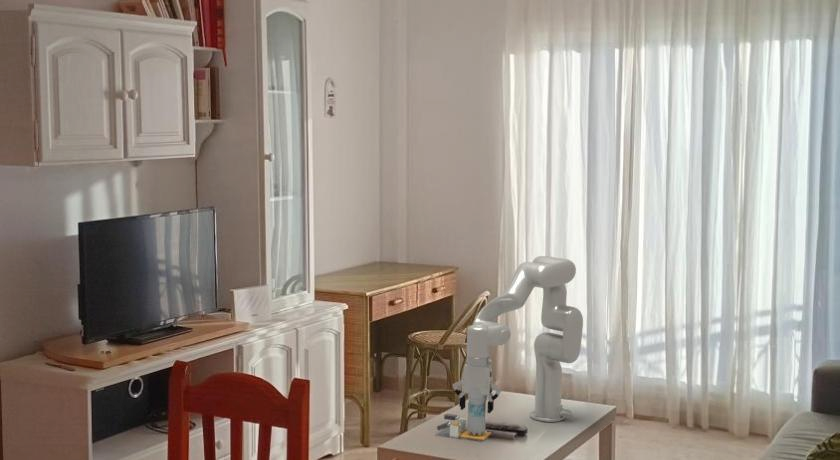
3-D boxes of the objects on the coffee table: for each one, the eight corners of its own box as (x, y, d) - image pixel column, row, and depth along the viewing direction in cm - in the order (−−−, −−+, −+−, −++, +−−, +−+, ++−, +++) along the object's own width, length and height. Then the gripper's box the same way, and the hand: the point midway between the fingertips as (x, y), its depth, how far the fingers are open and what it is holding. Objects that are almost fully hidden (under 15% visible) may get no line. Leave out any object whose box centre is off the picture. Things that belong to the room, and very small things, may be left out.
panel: (493, 434, 357) (494, 419, 357) (482, 444, 345) (482, 428, 344) (447, 428, 363) (447, 413, 363) (434, 438, 351) (435, 422, 351)
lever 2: (459, 419, 360) (459, 415, 360) (457, 420, 357) (457, 417, 357) (446, 417, 362) (446, 413, 362) (443, 419, 359) (444, 415, 359)
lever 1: (452, 424, 352) (451, 420, 352) (450, 426, 350) (448, 422, 350) (440, 428, 354) (439, 425, 354) (437, 430, 352) (436, 427, 352)
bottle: (488, 432, 355) (490, 375, 353) (482, 437, 348) (484, 380, 346) (469, 430, 357) (471, 373, 355) (463, 435, 351) (465, 378, 349)
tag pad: (491, 433, 355) (491, 432, 355) (483, 440, 347) (483, 439, 347) (467, 430, 358) (467, 429, 358) (459, 436, 350) (459, 436, 350)
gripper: (505, 361, 350) (503, 410, 352) (457, 356, 357) (455, 404, 358) (498, 366, 343) (497, 416, 345) (449, 361, 350) (448, 410, 351)
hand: (476, 410), depth 352 cm, fingers open, 9 cm apart
